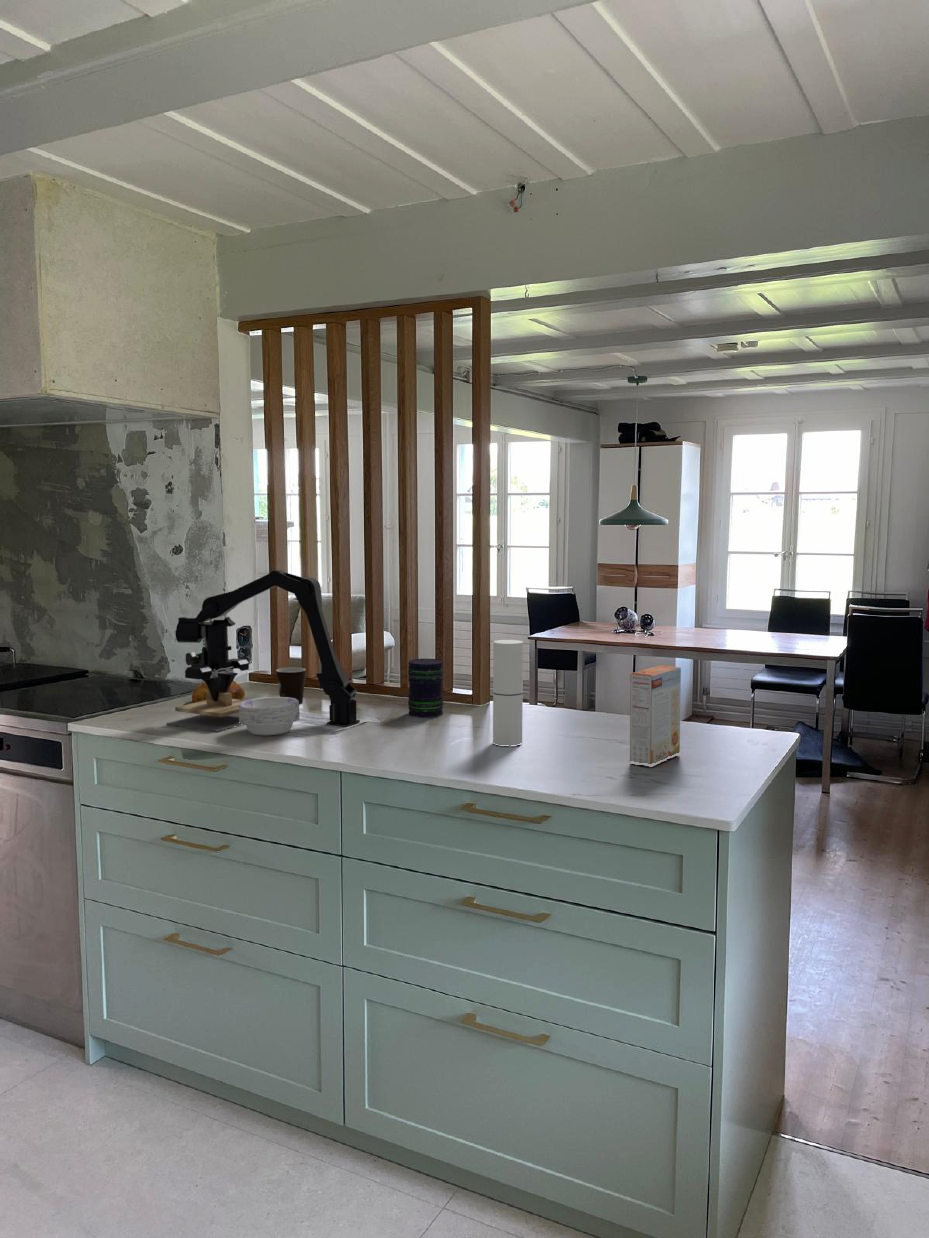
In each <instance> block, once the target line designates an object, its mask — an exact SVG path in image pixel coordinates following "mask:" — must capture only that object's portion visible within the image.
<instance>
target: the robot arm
mask: <svg viewBox="0 0 929 1238" xmlns="http://www.w3.org/2000/svg"><path fill="white" fill-rule="evenodd" d="M275 587H278V588H280V589H282V590H284V591H287V592H289V593H291V594H293V595H294V596H295V598H296V600H297V603H298V604H299V606H300V607H301V609H302V610H303V611H304V613H305V615H306V618H307V621H308V622H307V623H308V625H309V627H310V628H309V629H310V631H311V634H312V638H313V642H314V645H315V648H316V652H317V654H318V655H317V656H318V659H319V660H320V661H319V662H320V665H321V667H320V668H321V670H320V671H318V672H317V673H316V678H317V679H318V681H319V689H320V690H321V689H322V690H323V692H324V694H325V695H327V696H328V697H329V700H330V704H329V705H328V706H329V711H328V712H329V720H328V721H327V723H326V724H327V725H332V726H333V725H335V726H340V727H341V726H342V727H349V726H352V725H355V724H358V723H360V722H361V720H360V719H357V700H356V699H355V698H356V695H357V692H358V691H357V689H356V687H354V686H353V685H352V684H351V683H350V682H349V678H348V675H347V674H346V671H345V670H344V667H342V665H341V664H340V662H339V660H338V659H337V656H336V652H335V649H334V646H333V642H332V640H331V639H332V638H331V636H330V632H329V629H328V626H327V622H326V618H325V616H324V615H325V614H324V612H323V606H322V605H323V604H322V603H323V602H322V601H323V600H322V599H323V595H322V589H321V584H320V582H319V580H317V578H314V577H310V576H309V577H302V576H300V575H299V576H298V575H295V574H293V573H289V572H286V571H284V570H282V569H275V570H272V571H270V572H269V573H268V574H265V575H264V576H263V575H262V576H261V577H259V578H257V579H255V580H253V581H251V582H249V583H246V584H244V585H242V586H240V587H238V588H236V589H234V590H232V591H231V590H230V591H228V592H224V593H221V594H217V595H213V596H209V597H206V598H204V600H203V601H202V605H201V610H200V611H199V613H198V614H197V616H196V617H187V616H181V617H178V618H177V619H178V620H177V621H178V623H177V624H176V628H175V631H174V632H175V633H174V634H175V635H174V636H175V639H176V641H177V643H186V644H187V643H188V644H189V643H190V644H191V643H194V644H195V643H201V642H202V641H203V639H204V640H205V646H202V648H201V652H200V653H195V651H191V652H190V651H189V652H187V653H185V664H186V665H187V667H186V669H185V670H184V677H185V679H192V680H202V681H203V683H206V685H207V687H208V689H209V691H210V694H211V696H212V699H213V701H217V700H218V696H219V692H228V689H229V687H230V685H231V683H232V681H235V680H234V679H235V678H236V676H238V674H239V673H238V672H235V671H234V669H238V670H240V672H243V671H248V670H250V664H249V661H248V660H247V659H243V658H235V657H234V658H230V659H229V651H232V646H231V645H229V633H228V632H229V631H228V627H233V626H235V625H236V621H233V620H232V619H231V618H230V616H226V617H224V619H217V618H220V617H223V616H225V615H227V614H228V613H230V612H231V611H233V610H234V609H235V608H236V607H237V606H239V605H240V604H241V603H243V602H245V601H247V600H249V599H252V598H253V597H257V596H258V595H260V594H263V593H264V592H266V591H268V590H270V589H272V588H275ZM210 620H212V622H207V621H210Z"/></svg>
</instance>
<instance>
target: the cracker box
mask: <svg viewBox="0 0 929 1238" xmlns="http://www.w3.org/2000/svg"><path fill="white" fill-rule="evenodd" d="M681 670H682V668H681V666H680V667H679V666H678V667H677V666H672V665H671V666H670V665H664V664H661V665H657V666H652V667H649V668H646V669H642V670H638V671H635V672H631V673H630V674H629V679H630V684H629V687H630V689H629V690H630V691H629V693H630V697H629V698H630V699H629V701H630V702H629V706H630V708H629V714H630V715H629V762H630V761H634V762H639V763H648V764H652V763H656V762H658V761H660V760H663V759H665V758H667V757H668V756H672V755H674V754H676V753H679V752H680V751H681V746H680V745H681V743H680V741H681V690H682V689H681V687H682V686H681V685H682V684H681V681H682V680H681V679H682V678H681V677H682V671H681Z"/></svg>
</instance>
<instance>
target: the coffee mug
mask: <svg viewBox="0 0 929 1238" xmlns="http://www.w3.org/2000/svg"><path fill="white" fill-rule="evenodd" d="M306 672H307V668H303V667H281V668H277V669H276V670H275V673H276V680H277V687H278V688H277V689H278V694H279V697H289V698H295V699H297V700H298V701H299V706H300V705H303V701H304V693H305V692H304V690H305V683H306V682H305V681H306Z"/></svg>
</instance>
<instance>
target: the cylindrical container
mask: <svg viewBox="0 0 929 1238" xmlns="http://www.w3.org/2000/svg"><path fill="white" fill-rule="evenodd" d="M492 643H493V647H492V648H493V649H492V650H493V652H492V654H493V656H492V657H493V658H492V659H493V660H492V661H493V662H492V663H493V664H492V675H493V676H492V683H493V684H492V685H493V686H492V744H493V743H495V744H498V745H509V746H511V745H517V744H520V743H522V744H523V707H524V706H523V701H524V696H523V695H524V694H523V693H524V692H523V690H524V687H523V686H524V685H523V682H524V641H523V640H518V639H498V640H494V641H493V642H492Z"/></svg>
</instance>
